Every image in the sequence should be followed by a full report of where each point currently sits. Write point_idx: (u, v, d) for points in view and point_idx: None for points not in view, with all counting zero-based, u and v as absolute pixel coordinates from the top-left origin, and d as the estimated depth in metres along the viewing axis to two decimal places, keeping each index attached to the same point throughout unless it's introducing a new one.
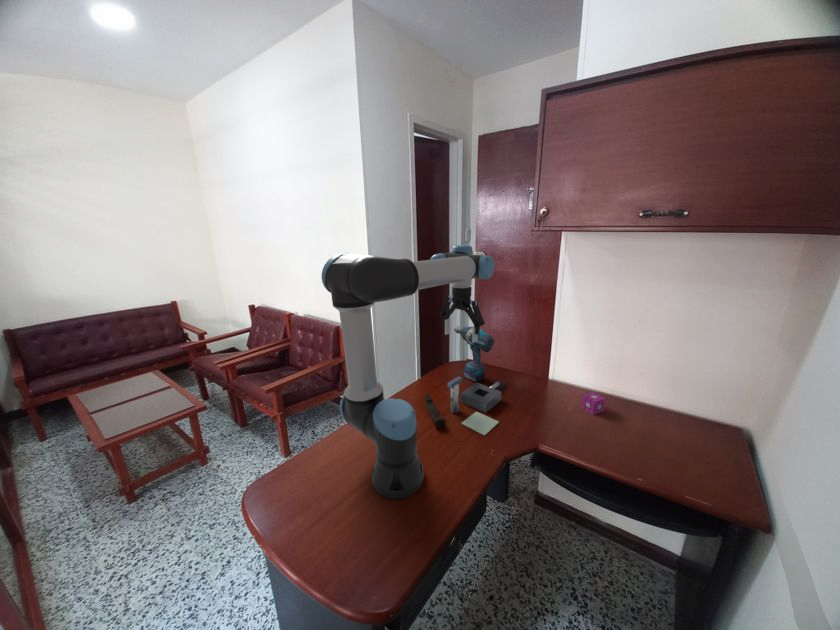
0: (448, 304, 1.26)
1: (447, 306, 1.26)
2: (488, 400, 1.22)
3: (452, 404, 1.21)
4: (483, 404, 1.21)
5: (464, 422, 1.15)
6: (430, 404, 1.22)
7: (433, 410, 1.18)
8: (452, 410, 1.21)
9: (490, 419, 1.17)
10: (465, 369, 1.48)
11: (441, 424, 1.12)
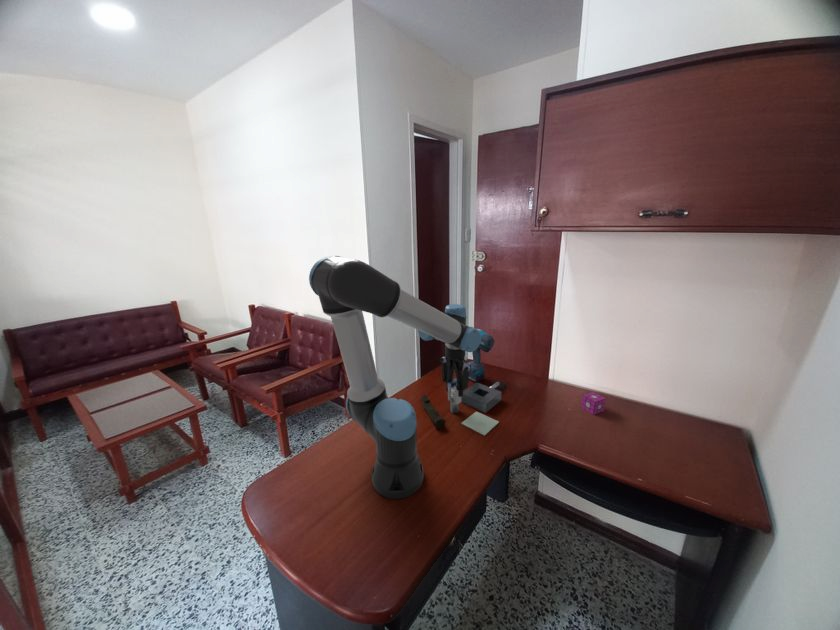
0: (445, 365, 1.21)
1: (445, 368, 1.21)
2: (488, 400, 1.22)
3: (452, 404, 1.21)
4: (483, 404, 1.21)
5: (464, 422, 1.15)
6: (428, 404, 1.21)
7: (432, 410, 1.18)
8: (452, 410, 1.21)
9: (490, 419, 1.17)
10: None
11: (441, 424, 1.12)
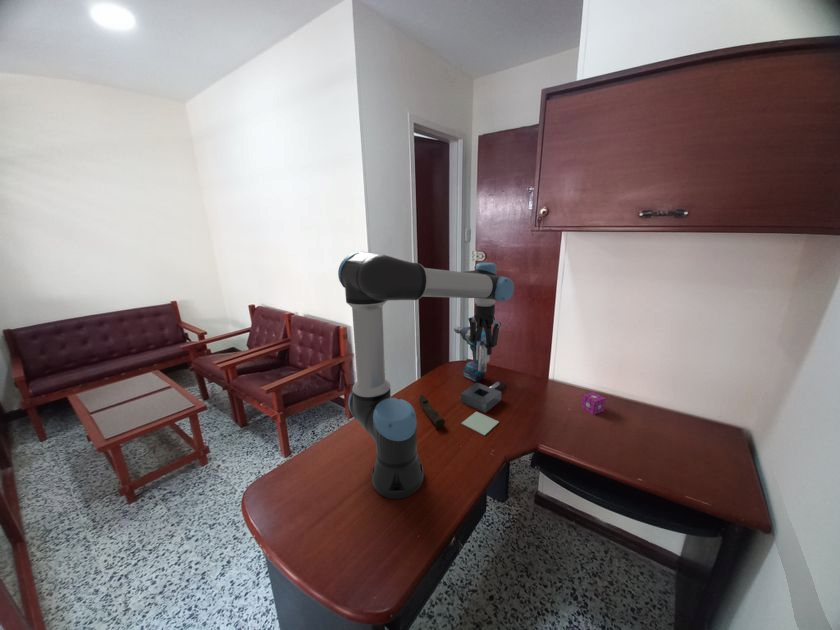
0: (474, 325, 1.23)
1: (474, 328, 1.23)
2: (488, 400, 1.22)
3: (480, 363, 1.23)
4: (483, 404, 1.21)
5: (464, 422, 1.15)
6: (426, 405, 1.21)
7: (431, 411, 1.18)
8: (480, 369, 1.24)
9: (490, 419, 1.17)
10: (465, 369, 1.48)
11: (441, 424, 1.12)
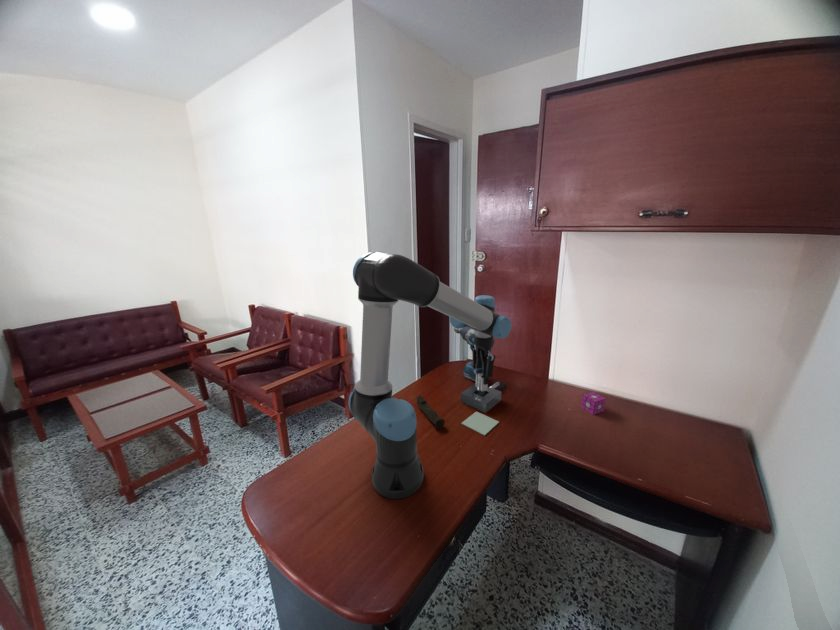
0: (476, 353, 1.28)
1: (476, 355, 1.28)
2: (488, 400, 1.22)
3: (478, 390, 1.27)
4: (483, 404, 1.21)
5: (464, 422, 1.15)
6: (425, 405, 1.21)
7: (430, 411, 1.17)
8: None
9: (490, 419, 1.17)
10: (465, 369, 1.48)
11: (441, 424, 1.12)
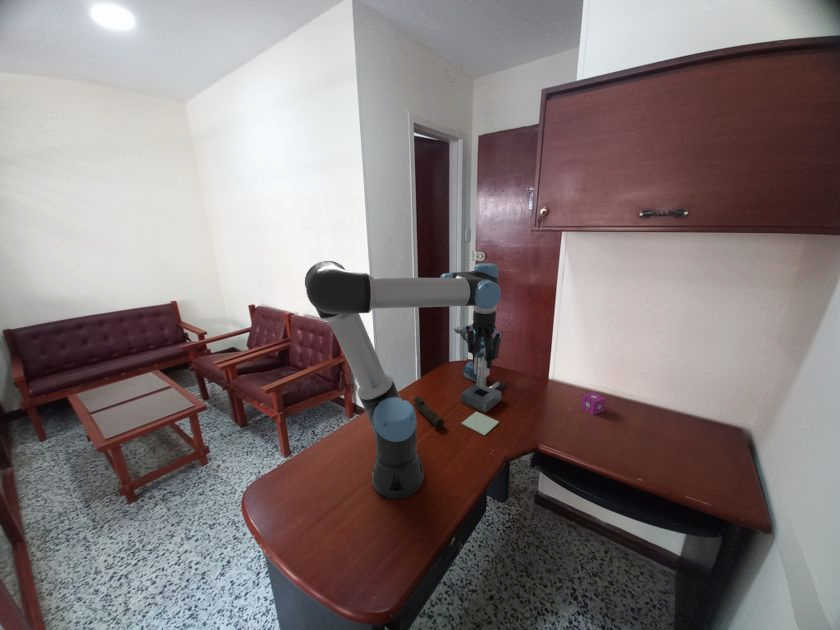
0: (472, 334, 1.08)
1: (471, 337, 1.09)
2: (488, 400, 1.22)
3: (479, 377, 1.09)
4: (483, 404, 1.21)
5: (464, 422, 1.15)
6: (423, 406, 1.21)
7: (429, 411, 1.17)
8: (479, 384, 1.09)
9: (490, 419, 1.17)
10: (465, 369, 1.48)
11: (440, 424, 1.12)
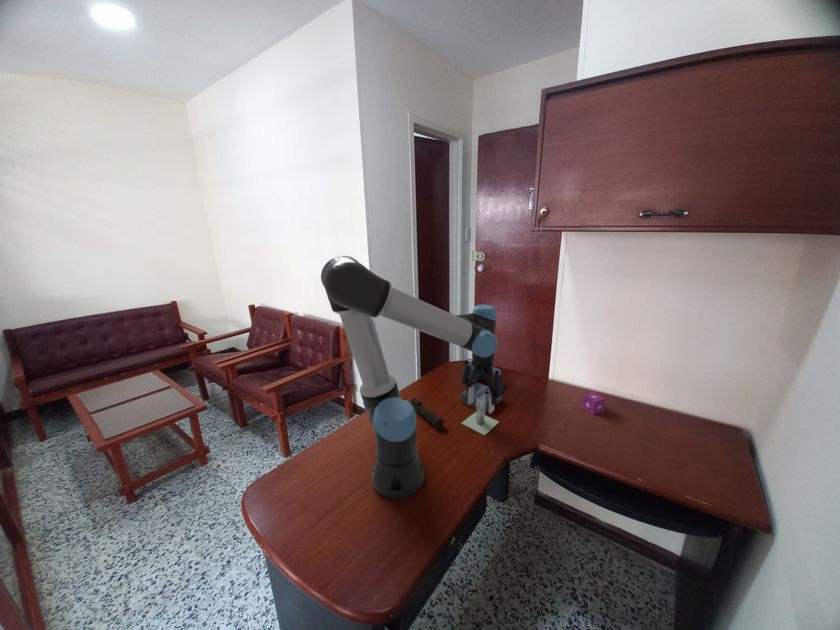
0: (469, 368, 1.13)
1: (468, 371, 1.13)
2: (488, 400, 1.22)
3: (478, 415, 1.13)
4: None
5: (464, 422, 1.15)
6: (421, 407, 1.20)
7: (427, 412, 1.17)
8: (478, 421, 1.13)
9: (490, 419, 1.17)
10: None
11: (440, 424, 1.12)
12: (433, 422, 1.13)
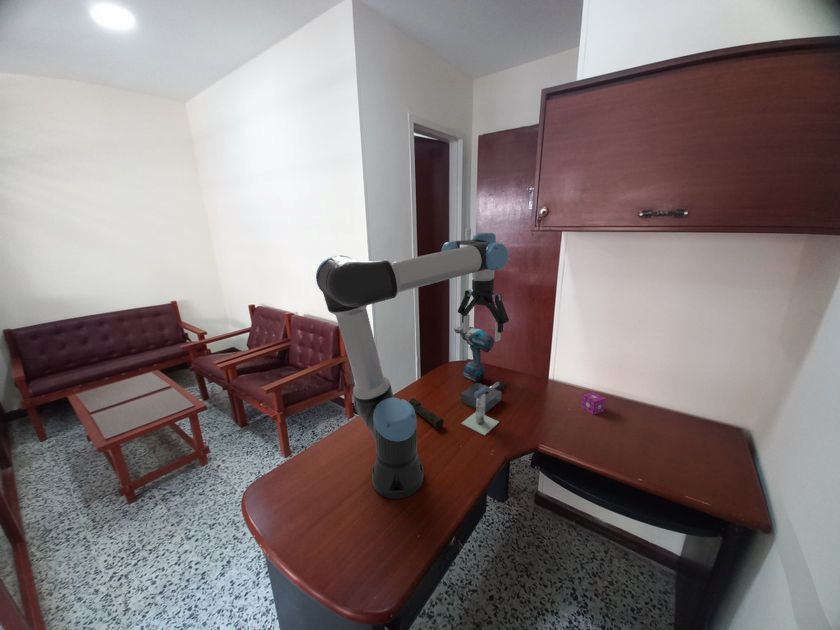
0: (467, 299, 1.14)
1: (466, 301, 1.14)
2: (488, 400, 1.22)
3: (478, 415, 1.13)
4: None
5: (464, 422, 1.15)
6: (420, 407, 1.20)
7: (427, 412, 1.17)
8: (478, 421, 1.13)
9: (490, 419, 1.17)
10: (465, 369, 1.48)
11: (440, 424, 1.12)
12: (433, 422, 1.13)
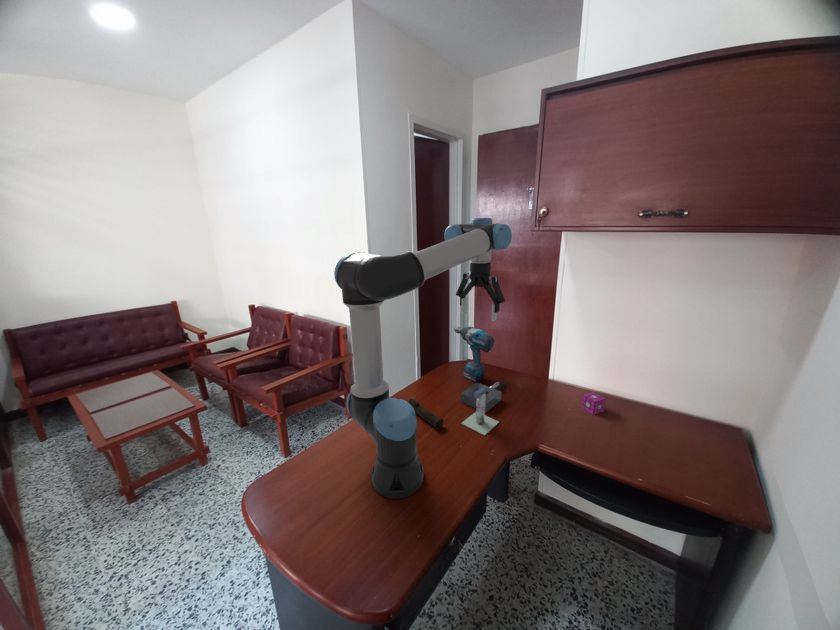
0: (465, 282, 1.20)
1: (464, 284, 1.20)
2: (488, 400, 1.22)
3: (478, 415, 1.13)
4: None
5: (464, 422, 1.15)
6: (419, 408, 1.19)
7: (426, 413, 1.16)
8: (478, 421, 1.13)
9: (490, 419, 1.17)
10: (465, 369, 1.48)
11: (440, 424, 1.12)
12: (433, 423, 1.13)
